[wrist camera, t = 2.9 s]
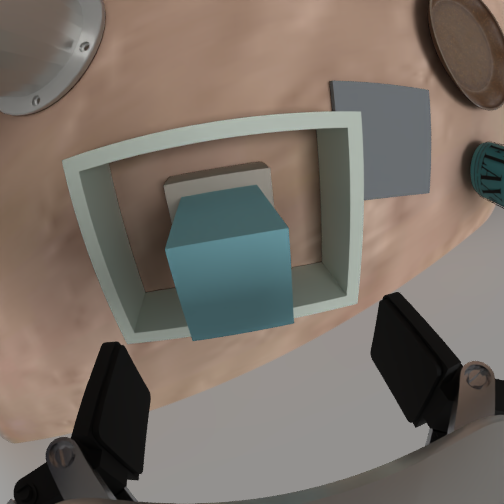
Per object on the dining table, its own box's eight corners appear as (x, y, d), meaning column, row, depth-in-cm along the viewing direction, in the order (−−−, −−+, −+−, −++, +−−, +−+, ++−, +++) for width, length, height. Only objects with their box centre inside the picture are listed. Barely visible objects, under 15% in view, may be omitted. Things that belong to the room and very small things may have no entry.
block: (181, 197, 18) (164, 249, 11) (256, 184, 19) (288, 228, 12) (195, 264, 21) (192, 341, 13) (264, 252, 21) (293, 323, 14)
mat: (329, 81, 19) (332, 80, 18) (424, 90, 20) (428, 90, 19) (337, 201, 23) (340, 203, 23) (425, 191, 24) (429, 193, 23)
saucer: (508, 86, 20) (523, 89, 17) (453, 128, 22) (472, 131, 19) (460, -18, 13) (475, -22, 11) (387, -4, 15) (403, -12, 13)
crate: (94, 149, 18) (61, 160, 14) (326, 111, 20) (360, 111, 15) (138, 303, 25) (127, 344, 20) (331, 269, 26) (357, 303, 21)
